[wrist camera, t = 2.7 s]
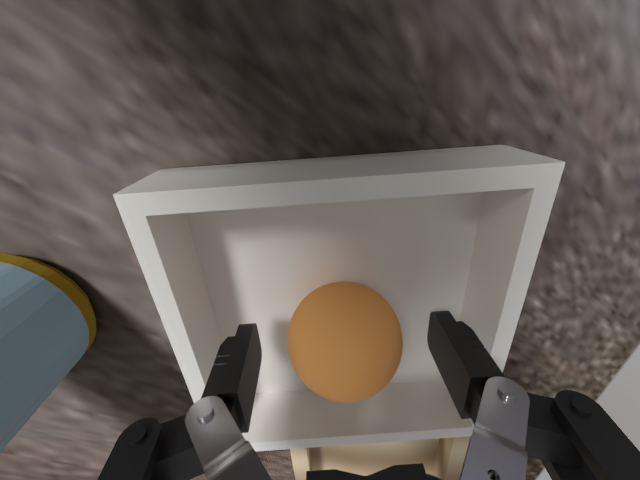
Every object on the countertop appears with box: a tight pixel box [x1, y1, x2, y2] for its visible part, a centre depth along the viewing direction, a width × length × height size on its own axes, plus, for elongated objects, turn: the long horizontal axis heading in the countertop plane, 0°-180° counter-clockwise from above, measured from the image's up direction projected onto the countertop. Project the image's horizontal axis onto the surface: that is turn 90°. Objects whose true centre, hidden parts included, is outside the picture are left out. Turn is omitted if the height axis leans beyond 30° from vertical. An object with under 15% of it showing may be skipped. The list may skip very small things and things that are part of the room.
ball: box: [287, 281, 403, 403], centre depth 13 cm, size 5×5×5 cm
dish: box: [113, 144, 566, 451], centre depth 14 cm, size 15×15×4 cm
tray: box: [290, 436, 471, 480], centre depth 21 cm, size 11×11×2 cm
